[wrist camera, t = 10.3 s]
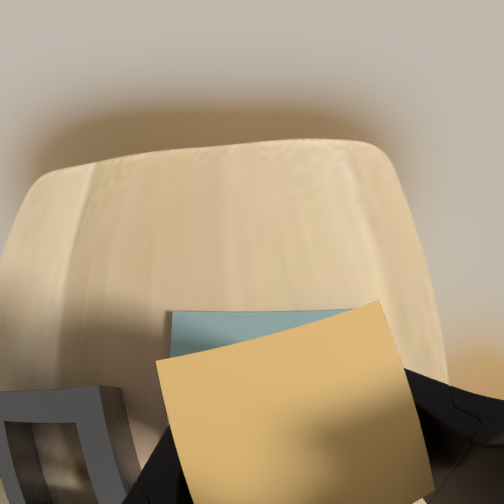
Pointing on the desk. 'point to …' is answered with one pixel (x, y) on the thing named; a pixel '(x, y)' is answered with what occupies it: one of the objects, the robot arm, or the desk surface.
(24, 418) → the square-hole plate
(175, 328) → the rubber mat
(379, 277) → the desk surface
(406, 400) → the ochre square block
